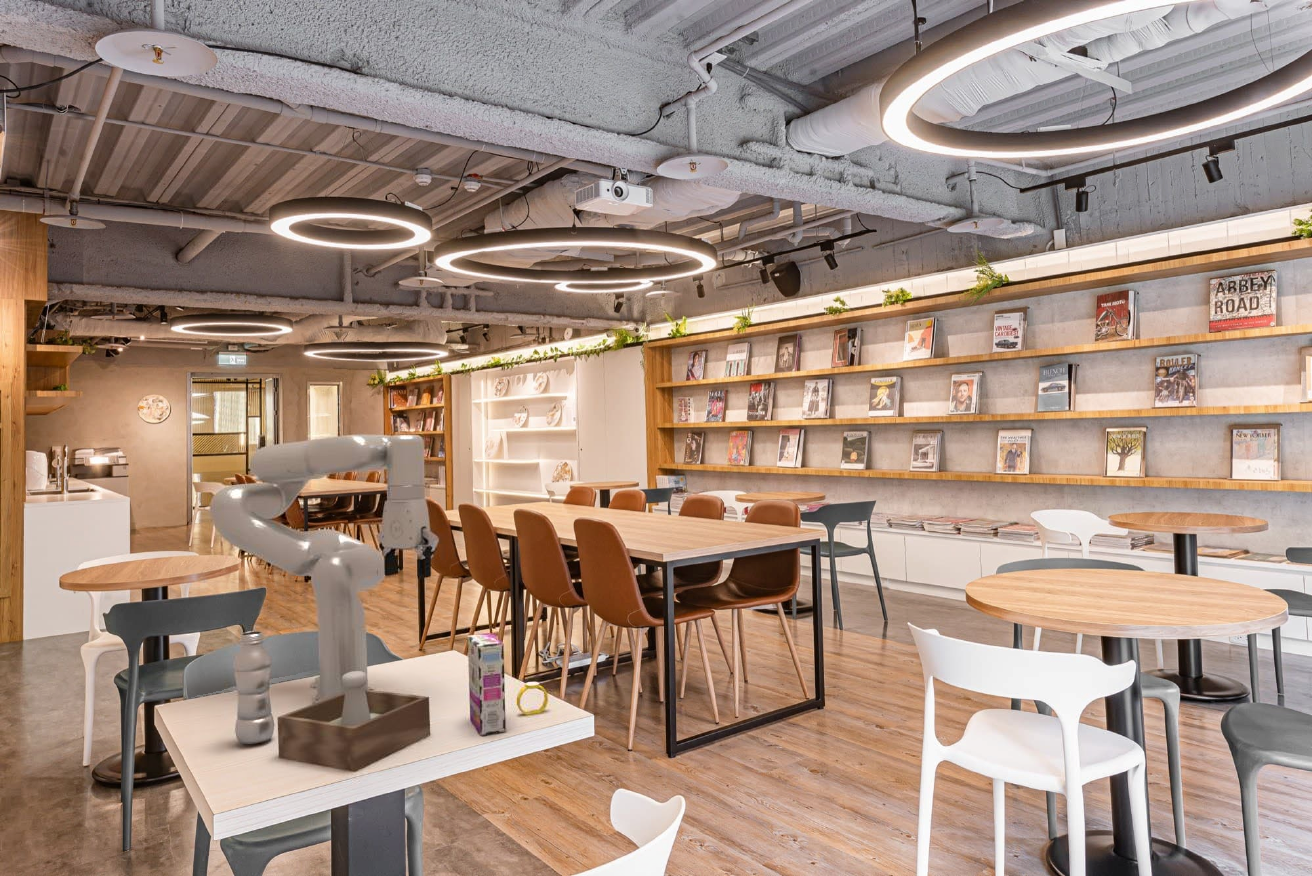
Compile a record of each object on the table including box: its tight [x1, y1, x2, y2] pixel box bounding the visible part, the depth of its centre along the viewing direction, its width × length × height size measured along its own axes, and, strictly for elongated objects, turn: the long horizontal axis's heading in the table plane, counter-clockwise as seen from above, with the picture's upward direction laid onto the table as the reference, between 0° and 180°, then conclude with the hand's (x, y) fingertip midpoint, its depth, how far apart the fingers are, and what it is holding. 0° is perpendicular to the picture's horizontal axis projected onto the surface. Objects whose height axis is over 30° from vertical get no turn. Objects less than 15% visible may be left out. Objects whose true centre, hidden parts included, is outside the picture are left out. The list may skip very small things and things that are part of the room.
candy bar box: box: [467, 632, 507, 736], centre depth 156 cm, size 11×5×16 cm, turn 23°
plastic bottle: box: [232, 630, 275, 745], centre depth 152 cm, size 6×7×20 cm
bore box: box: [277, 689, 431, 772], centre depth 147 cm, size 18×18×7 cm
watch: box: [516, 681, 549, 716], centre depth 162 cm, size 6×3×6 cm, turn 114°
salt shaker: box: [341, 671, 371, 726], centre depth 148 cm, size 6×6×13 cm
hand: (407, 576), depth 171 cm, fingers open, 9 cm apart
